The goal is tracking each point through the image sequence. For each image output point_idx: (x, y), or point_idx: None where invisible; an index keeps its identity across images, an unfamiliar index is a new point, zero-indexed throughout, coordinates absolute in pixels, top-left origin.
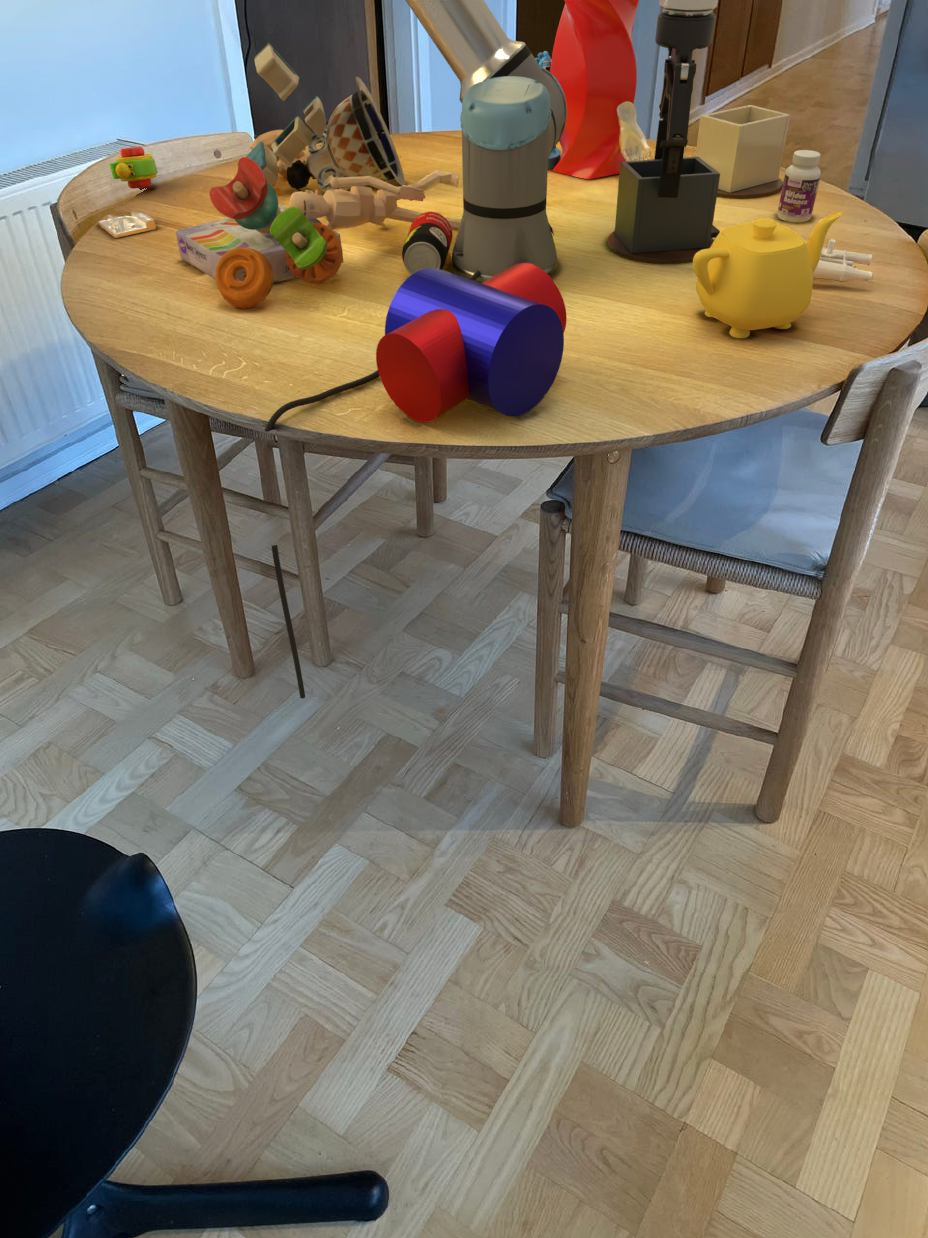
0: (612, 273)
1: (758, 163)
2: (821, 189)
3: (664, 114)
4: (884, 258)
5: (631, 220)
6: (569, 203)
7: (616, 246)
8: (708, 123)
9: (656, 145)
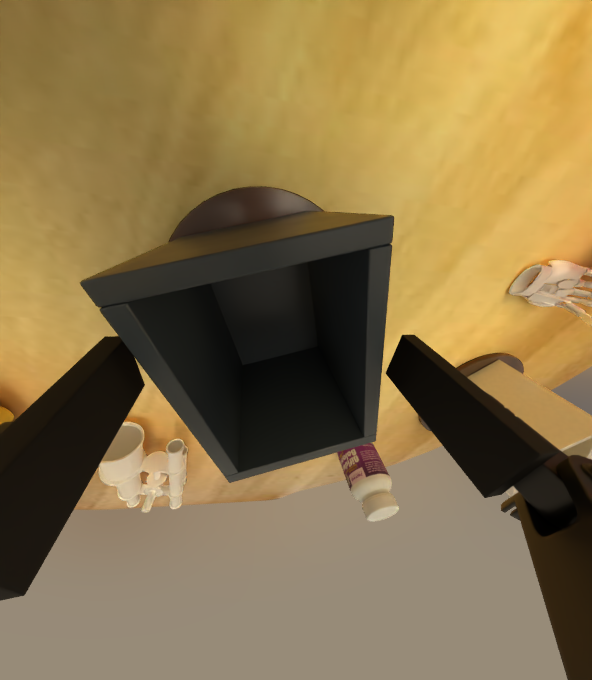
0: (55, 170)
1: None
2: (416, 452)
3: (571, 492)
4: (235, 488)
5: (187, 240)
6: (540, 119)
7: (225, 204)
8: (574, 428)
9: (448, 376)
